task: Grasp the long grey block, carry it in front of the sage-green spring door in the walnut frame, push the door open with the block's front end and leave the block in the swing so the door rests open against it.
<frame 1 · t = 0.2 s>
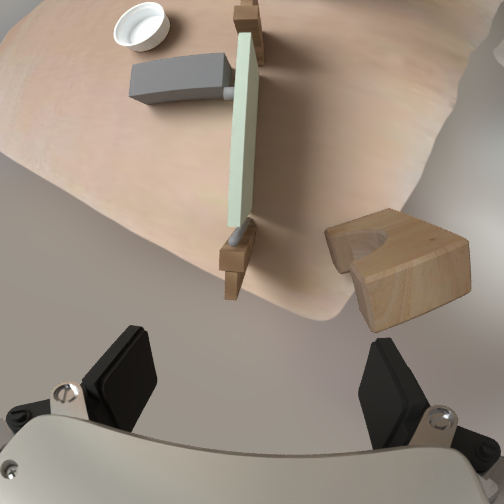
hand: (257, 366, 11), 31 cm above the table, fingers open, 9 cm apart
grey block: (187, 85, 36), on the table
door: (237, 139, 31), point 7 cm above the table, hinge at 0.0°
frame: (247, 219, 40), on the table
ramekin: (149, 33, 33), on the table
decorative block: (362, 235, 40), on the table
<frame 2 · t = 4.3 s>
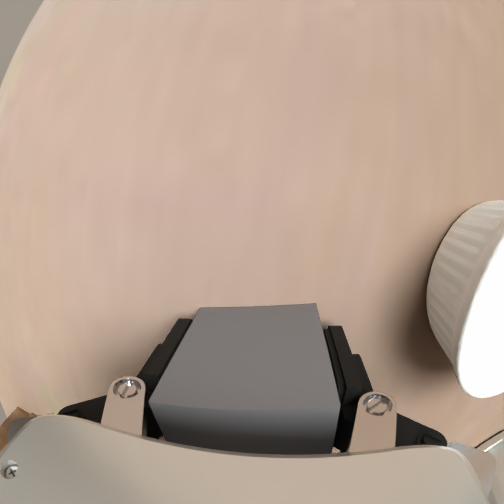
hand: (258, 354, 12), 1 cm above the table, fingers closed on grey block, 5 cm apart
grey block: (265, 410, 14), on the table, touching gripper
frame: (54, 430, 18), on the table
ramekin: (480, 275, 11), on the table
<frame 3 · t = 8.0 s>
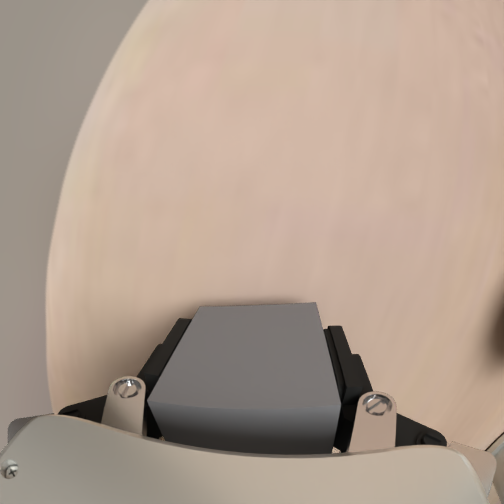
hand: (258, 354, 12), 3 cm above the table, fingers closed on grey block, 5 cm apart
grey block: (265, 409, 14), point 2 cm above the table, touching gripper
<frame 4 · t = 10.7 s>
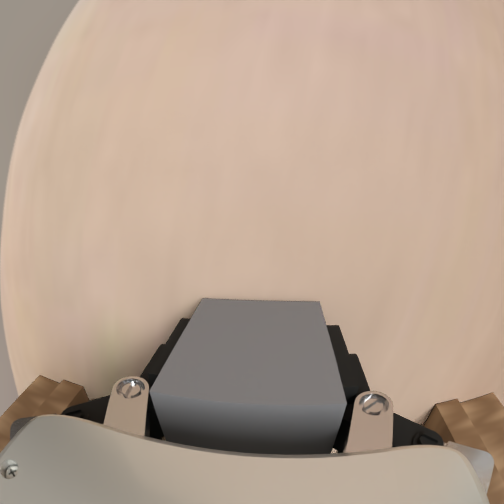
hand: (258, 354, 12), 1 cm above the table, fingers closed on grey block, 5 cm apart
grey block: (259, 406, 14), on the table, touching door, gripper
frame: (96, 401, 16), on the table
when the fingers open (1 cm above the table, at t = 11.6 s): grey block stays where it is, on the table.
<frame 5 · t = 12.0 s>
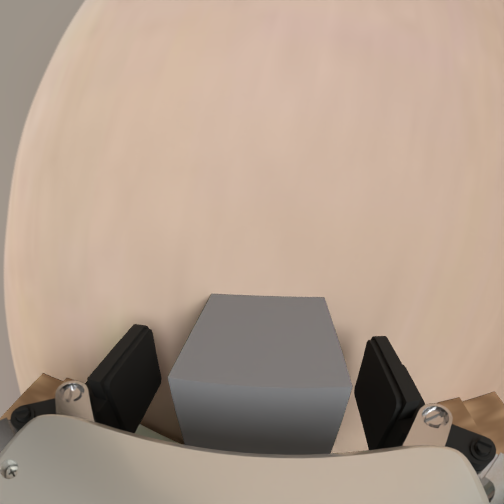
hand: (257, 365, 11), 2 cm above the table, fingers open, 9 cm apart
grey block: (264, 398, 14), on the table
frame: (100, 399, 16), on the table
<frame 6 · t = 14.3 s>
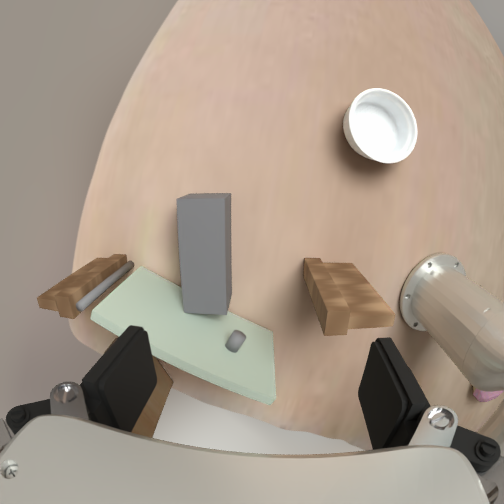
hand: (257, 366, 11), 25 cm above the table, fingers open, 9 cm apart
grey block: (211, 245, 36), on the table
door: (190, 319, 31), point 7 cm above the table, hinge at 27.4°
frame: (132, 263, 37), on the table
ramekin: (371, 129, 31), on the table
donut: (493, 367, 42), on the table
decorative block: (144, 360, 42), on the table
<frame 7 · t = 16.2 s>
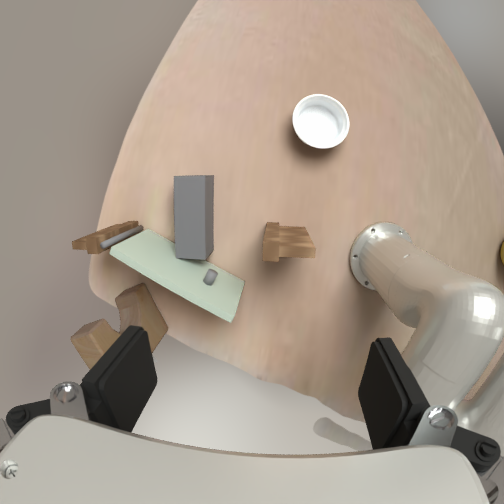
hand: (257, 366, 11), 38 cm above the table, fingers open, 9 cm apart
grey block: (199, 212, 49), on the table
door: (179, 261, 44), point 7 cm above the table, hinge at 27.4°
frame: (142, 227, 50), on the table
ramekin: (317, 125, 43), on the table
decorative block: (147, 309, 55), on the table
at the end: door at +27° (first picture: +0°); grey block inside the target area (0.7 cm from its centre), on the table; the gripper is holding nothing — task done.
